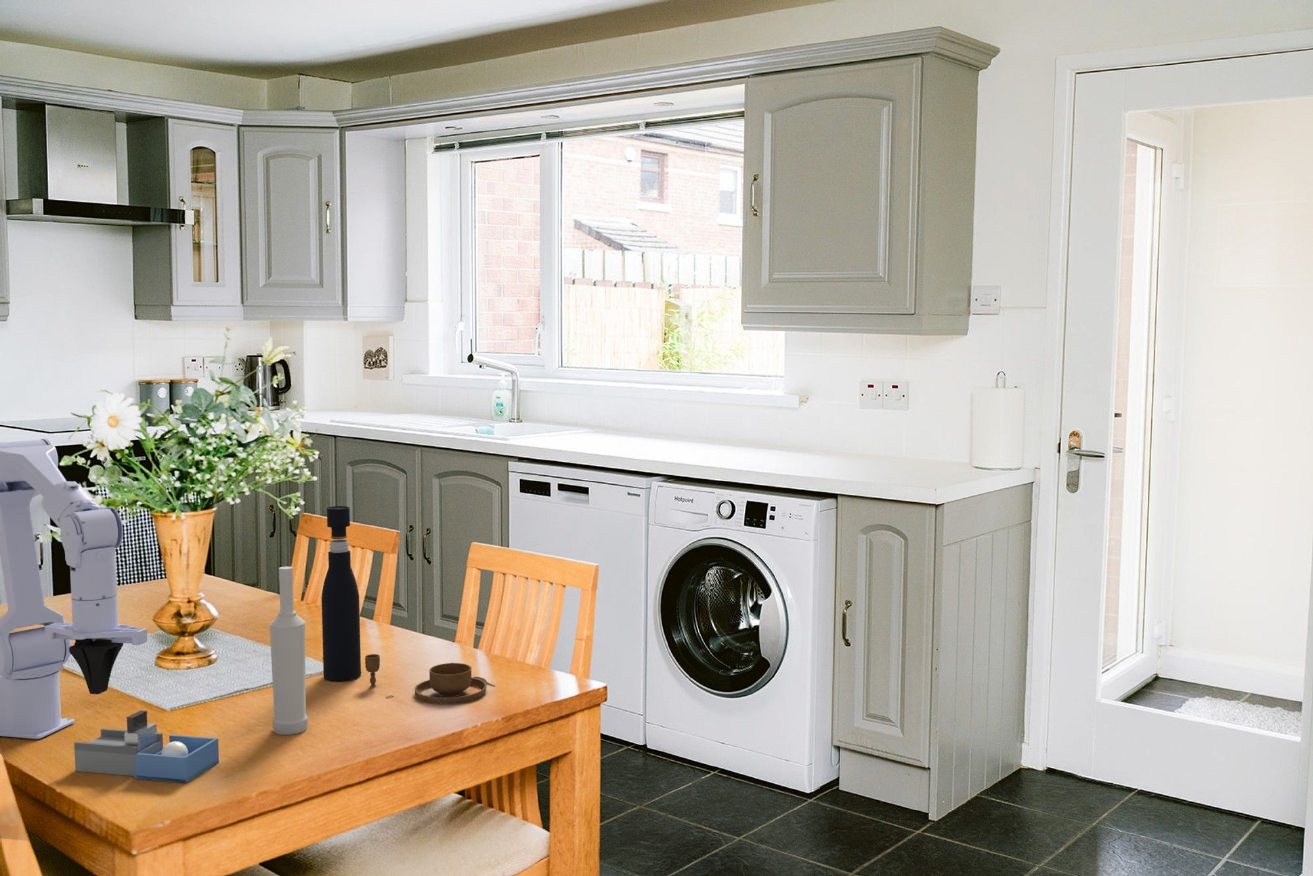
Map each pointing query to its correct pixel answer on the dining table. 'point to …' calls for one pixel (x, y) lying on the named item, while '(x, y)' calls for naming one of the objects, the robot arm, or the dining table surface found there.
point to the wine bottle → (340, 605)
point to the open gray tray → (111, 753)
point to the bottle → (288, 662)
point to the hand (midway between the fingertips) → (98, 692)
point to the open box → (179, 761)
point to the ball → (175, 749)
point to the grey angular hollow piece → (140, 730)
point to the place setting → (439, 681)
